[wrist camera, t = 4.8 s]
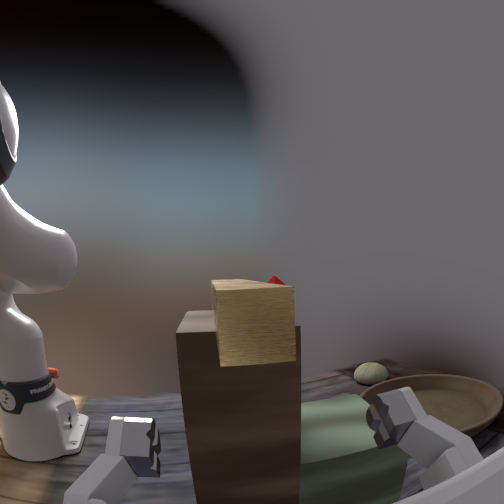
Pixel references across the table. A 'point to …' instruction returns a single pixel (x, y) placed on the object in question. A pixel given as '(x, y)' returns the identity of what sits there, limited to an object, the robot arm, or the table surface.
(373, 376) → the sea urchin shell
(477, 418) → the plant saucer
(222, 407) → the two-tone block tower
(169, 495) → the table surface
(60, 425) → the robot arm
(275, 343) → the brass bar
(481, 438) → the table surface
